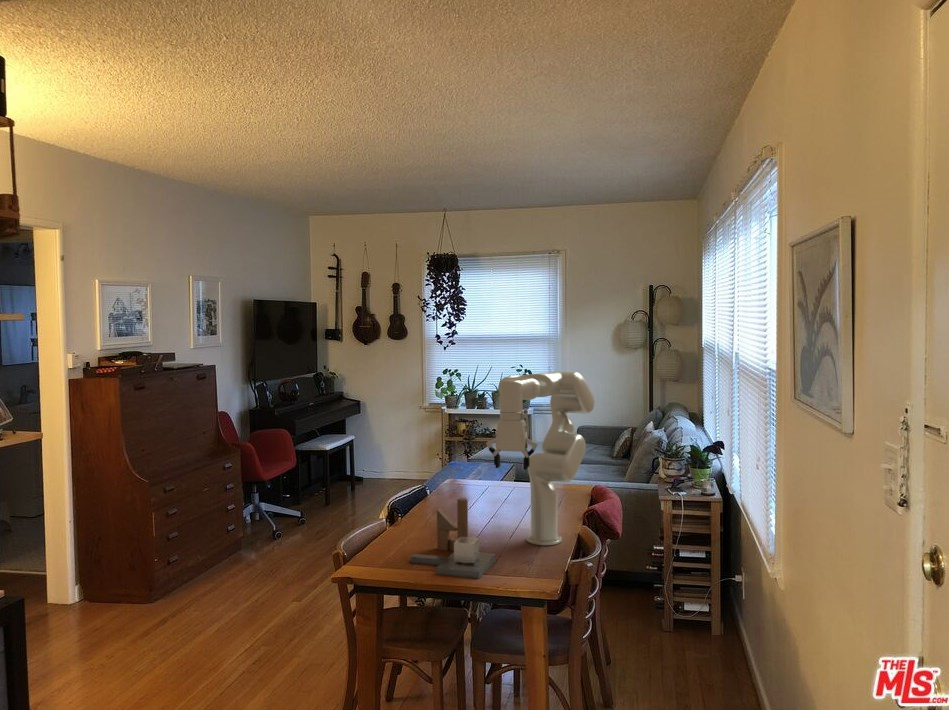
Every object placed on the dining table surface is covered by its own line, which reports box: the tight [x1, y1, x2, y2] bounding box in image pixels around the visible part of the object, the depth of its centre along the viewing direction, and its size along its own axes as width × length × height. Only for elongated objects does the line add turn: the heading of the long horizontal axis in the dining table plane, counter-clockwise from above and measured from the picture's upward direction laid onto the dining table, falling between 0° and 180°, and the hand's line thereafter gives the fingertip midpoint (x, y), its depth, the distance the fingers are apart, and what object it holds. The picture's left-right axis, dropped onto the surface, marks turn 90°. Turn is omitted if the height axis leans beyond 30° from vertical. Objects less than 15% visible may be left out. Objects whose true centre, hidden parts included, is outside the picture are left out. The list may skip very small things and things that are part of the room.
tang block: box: [410, 551, 497, 580], centre depth 223 cm, size 18×26×7 cm
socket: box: [453, 536, 480, 563], centre depth 221 cm, size 6×6×6 cm
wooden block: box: [436, 497, 469, 552], centre depth 238 cm, size 4×11×18 cm, turn 76°
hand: (511, 468), depth 228 cm, fingers open, 9 cm apart
